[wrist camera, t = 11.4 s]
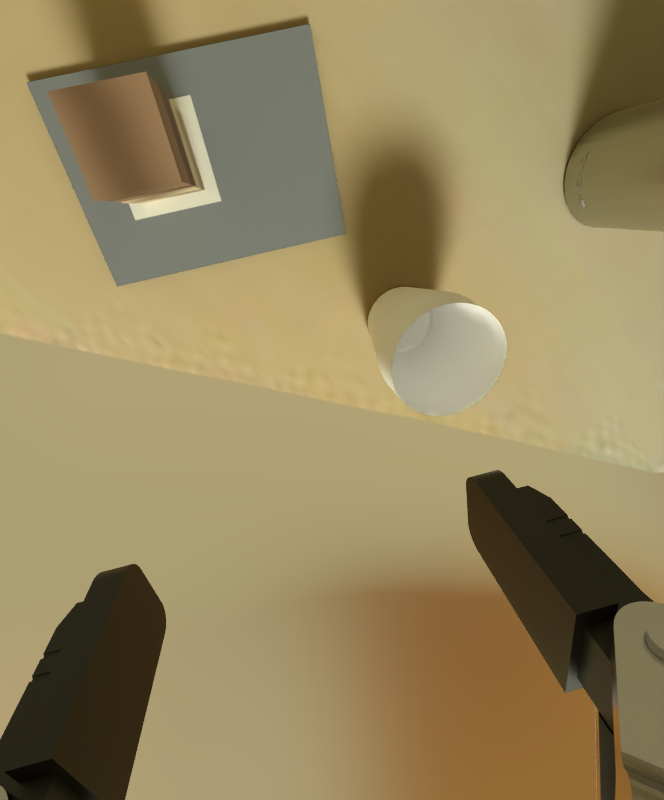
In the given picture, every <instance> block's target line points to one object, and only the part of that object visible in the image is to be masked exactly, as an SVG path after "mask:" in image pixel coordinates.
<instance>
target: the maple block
mask: <svg viewBox="0 0 664 800" xmlns="http://www.w3.org/2000/svg"><path fill="white" fill-rule="evenodd" d="M170 104H171V108H172V111H173V114H174V117H175V120H176V124H177V127H178V130H179V133H180V136H181V140H182V143H183V146H184V149H185V152H186V156H187V159H188V162H189V165H190V168H191V172H192V175H193V178H194V181H195V184H196V186H194V187H189V188H185V189H180V190H176V191H171V192H166V193H162V194H157V195H152V196H148V197H143V198H138V199H134V200H129V201H125V202H121V203H134V204H144V203H148V202H153V201H157V200H162V199H166V198H171V197H175V196H180V195H184V194H189V193H193V192H198V191H202V190H205V188H204V185H203V182H202V179H201V175H200V172H199V169H198V166H197V162H196V159H195V156H194V153H193V149H192V146H191V143H190V140H189V137H188V133H187V130H186V127H185V124H184V120H183V117H182V114H181V113H180V112H179V111H178V110H177V109H176V108H175V106H174V105H173V104H172V103H171V102H170Z"/></svg>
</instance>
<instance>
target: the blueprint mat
mask: <svg viewBox="0 0 664 800" xmlns="http://www.w3.org/2000/svg"><path fill="white" fill-rule="evenodd" d="M141 72H147V73H148V74H149V75H150V77H151V78H152V79H153V80H154V81H155V82H156V83H157V84H158V86H159V87H160V88H161V89H162V90H163V91H164V92H165V93H166V95H167V96H168V98H169V101H170V102H171V103H172V104H173V105H174V106H175V108H176V109H177V110H178V111H179V112H180V113H181V114H182V117H183V120H184V124H185V127H186V130H187V133H188V137H189V140H190V143H191V146H192V149H193V153H194V156H195V159H196V162H197V166H198V169H199V172H200V175H201V179H202V182H203V185H204V188H205V190H202V191H198V192H193V193H189V194H184V195H180V196H175V197H171V198H166V199H162V200H157V201H153V202H148V203H144V204H134V203H121V202H114V201H94V200H93V197H92V195H91V193H90V190H89V188H88V186H87V183H86V181H85V179H84V176H83V174H82V172H81V169H80V167H79V164H78V162H77V160H76V157H75V155H74V153H73V150H72V148H71V146H70V143H69V141H68V139H67V136H66V134H65V131H64V129H63V127H62V124H61V122H60V120H59V117H58V115H57V113H56V110H55V108H54V106H53V103H52V101H51V98H50V96H49V94H48V91H52V90H57V89H62V88H67V87H72V86H77V85H81V84H86V83H91V82H96V81H101V80H106V79H111V78H116V77H121V76H126V75H131V74H136V73H141ZM27 85H28V87H29V89H30V92H31V94H32V96H33V98H34V101H35V103H36V105H37V107H38V110H39V112H40V114H41V116H42V119H43V121H44V123H45V125H46V128H47V130H48V132H49V134H50V137H51V139H52V141H53V143H54V146H55V148H56V150H57V152H58V155H59V157H60V159H61V161H62V164H63V166H64V168H65V170H66V173H67V175H68V177H69V179H70V182H71V184H72V186H73V188H74V191H75V193H76V195H77V197H78V200H79V202H80V204H81V206H82V209H83V211H84V213H85V215H86V218H87V220H88V222H89V224H90V227H91V229H92V231H93V233H94V236H95V238H96V240H97V242H98V245H99V247H100V249H101V251H102V254H103V256H104V258H105V260H106V263H107V265H108V267H109V269H110V272H111V274H112V276H113V278H114V281H115V283H116V285H117V286H122V285H126V284H130V283H135V282H139V281H143V280H148V279H152V278H156V277H161V276H165V275H169V274H174V273H178V272H182V271H187V270H191V269H195V268H200V267H204V266H208V265H213V264H217V263H221V262H226V261H230V260H234V259H239V258H243V257H247V256H252V255H256V254H260V253H265V252H269V251H273V250H278V249H282V248H286V247H291V246H295V245H299V244H304V243H308V242H312V241H317V240H321V239H325V238H330V237H334V236H338V235H343V234H346V233H345V227H344V222H343V216H342V210H341V204H340V198H339V192H338V186H337V180H336V175H335V169H334V163H333V157H332V151H331V145H330V139H329V133H328V127H327V122H326V116H325V110H324V104H323V98H322V92H321V86H320V80H319V75H318V69H317V63H316V57H315V51H314V45H313V39H312V33H311V28H310V24H307V25H302V26H297V27H292V28H288V29H283V30H278V31H273V32H268V33H263V34H259V35H254V36H249V37H244V38H239V39H234V40H230V41H225V42H220V43H215V44H210V45H205V46H201V47H196V48H191V49H186V50H181V51H176V52H172V53H167V54H162V55H157V56H152V57H147V58H143V59H138V60H133V61H128V62H123V63H118V64H114V65H109V66H104V67H99V68H94V69H89V70H85V71H80V72H75V73H70V74H65V75H60V76H56V77H51V78H46V79H41V80H36V81H31V82H27Z"/></svg>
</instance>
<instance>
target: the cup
mask: <svg viewBox="0 0 664 800" xmlns="http://www.w3.org/2000/svg"><path fill="white" fill-rule="evenodd" d="M368 331H369V335H370V338H371V341H372V345H373V348H374V351H375V354H376V358H377V361H378V364H379V367H380V370H381V373H382V375H383V377H384V379H385V381H386V382H387V384H388V385H389V386H390V388H391V389H392V390H393V391H394V392H395V393H396V394H397V395H398V396H399V397H400V398H401V400H402V401H403V402H404V403H405V404H406V405H407V406H409V407H410V408H411V409H413V410H415V411H417V412H419V413H422V414H425V415H430V416H447V415H452V414H456V413H459V412H462V411H464V410H466V409H468V408H470V407H472V406H473V405H475V404H476V403H478V402H479V401H480V400H481V399H483V398H484V397H485V396H486V395H487V394H488V393H489V392H490V390H491V389H492V388H493V387H494V385H495V384H496V382H497V381H498V379H499V377H500V375H501V373H502V371H503V368H504V365H505V361H506V354H507V343H506V337H505V334H504V331H503V328H502V326H501V324H500V323H499V321H498V320H497V319H496V318H495V317H494V316H493V315H492V314H491V313H490V312H489V311H487V310H486V309H484V308H482V307H480V306H479V305H477V304H475V303H474V302H473V301H471V300H470V299H468V298H467V297H465V296H462V295H460V294H456V293H453V292H447V291H439V290H430V289H421V288H412V287H397V288H394V289H391V290H389V291H387V292H385V293H384V294H382V295H381V296H380V297H379V298H378V299H377V300H376V301H375V303H374V304H373V306H372V308H371V310H370V313H369V316H368Z"/></svg>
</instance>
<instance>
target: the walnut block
mask: <svg viewBox="0 0 664 800" xmlns="http://www.w3.org/2000/svg"><path fill="white" fill-rule="evenodd" d="M48 94H49V96H50V98H51V101H52V103H53V106H54V108H55V110H56V113H57V115H58V117H59V120H60V122H61V124H62V127H63V129H64V131H65V134H66V136H67V139H68V141H69V143H70V146H71V148H72V150H73V153H74V155H75V157H76V160H77V162H78V164H79V167H80V169H81V172H82V174H83V176H84V179H85V181H86V183H87V186H88V188H89V190H90V193H91V195H92V197H93V200H94V201H114V202H125V201H129V200H134V199H138V198H143V197H148V196H152V195H157V194H162V193H166V192H171V191H176V190H180V189H185V188H189V187H194V186H196V184H195V181H194V178H193V175H192V172H191V168H190V165H189V162H188V159H187V156H186V152H185V149H184V146H183V143H182V140H181V136H180V133H179V130H178V127H177V124H176V120H175V117H174V114H173V111H172V108H171V104H170V101H169V98H168V96H167V95H166V93H165V92H164V91H163V90H162V89H161V88H160V87H159V86H158V84H157V83H156V82H155V81H154V80H153V79H152V78H151V77H150V75H149V74H148V73H147V72H141V73H136V74H131V75H126V76H121V77H116V78H111V79H106V80H101V81H96V82H91V83H86V84H81V85H77V86H72V87H67V88H62V89H57V90H52V91H48Z"/></svg>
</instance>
